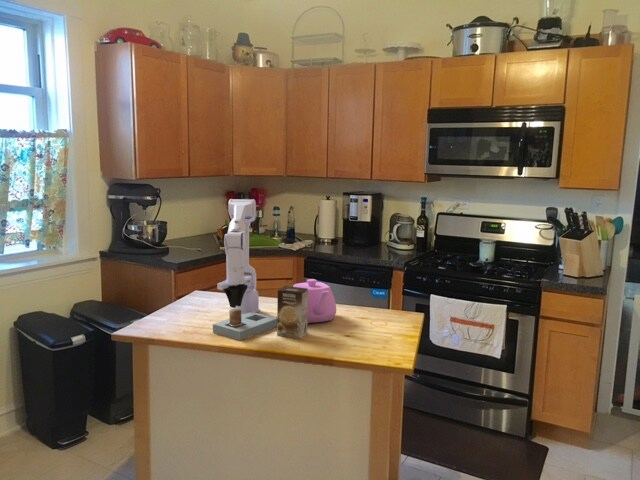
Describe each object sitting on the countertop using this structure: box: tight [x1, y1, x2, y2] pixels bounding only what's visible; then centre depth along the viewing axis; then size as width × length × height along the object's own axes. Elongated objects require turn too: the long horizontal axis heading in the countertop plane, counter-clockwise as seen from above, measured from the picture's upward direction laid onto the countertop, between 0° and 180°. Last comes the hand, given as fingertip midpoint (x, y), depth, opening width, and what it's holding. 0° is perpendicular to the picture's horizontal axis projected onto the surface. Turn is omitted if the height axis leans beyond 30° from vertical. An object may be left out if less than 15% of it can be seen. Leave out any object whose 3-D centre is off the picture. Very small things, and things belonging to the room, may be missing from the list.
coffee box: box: [276, 285, 308, 339], centre depth 180 cm, size 9×6×16 cm
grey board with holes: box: [212, 312, 277, 341], centre depth 186 cm, size 19×13×3 cm
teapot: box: [292, 278, 337, 325], centre depth 194 cm, size 23×21×15 cm
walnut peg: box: [228, 308, 242, 328], centre depth 181 cm, size 4×4×8 cm
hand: (235, 306), depth 180 cm, fingers closed
